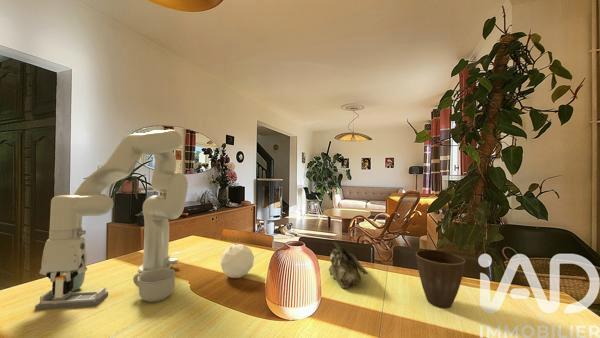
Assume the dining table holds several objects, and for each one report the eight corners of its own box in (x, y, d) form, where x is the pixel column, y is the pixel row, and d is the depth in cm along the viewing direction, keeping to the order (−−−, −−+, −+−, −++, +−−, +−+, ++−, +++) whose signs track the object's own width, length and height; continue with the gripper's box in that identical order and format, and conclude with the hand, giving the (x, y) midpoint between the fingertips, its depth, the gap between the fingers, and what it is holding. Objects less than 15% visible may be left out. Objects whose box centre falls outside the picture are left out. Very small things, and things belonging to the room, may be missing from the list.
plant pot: (446, 319, 77) (447, 266, 77) (405, 297, 90) (406, 252, 91) (474, 308, 84) (474, 260, 84) (432, 289, 97) (433, 248, 98)
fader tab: (72, 294, 82) (73, 272, 82) (63, 300, 78) (65, 277, 78) (61, 295, 82) (62, 273, 82) (52, 301, 78) (53, 278, 78)
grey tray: (108, 295, 86) (108, 285, 86) (96, 305, 79) (96, 295, 79) (52, 298, 82) (53, 288, 82) (34, 309, 75) (35, 299, 76)
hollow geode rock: (338, 274, 122) (317, 250, 123) (357, 256, 122) (336, 232, 123) (346, 302, 93) (319, 271, 94) (372, 278, 93) (344, 247, 94)
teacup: (181, 293, 88) (182, 270, 88) (154, 309, 78) (155, 283, 78) (151, 286, 93) (152, 264, 93) (122, 300, 82) (123, 275, 83)
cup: (65, 297, 83) (67, 266, 84) (47, 294, 85) (49, 264, 85) (89, 287, 91) (91, 259, 91) (72, 284, 92) (73, 257, 93)
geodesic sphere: (235, 274, 92) (249, 238, 100) (206, 267, 97) (221, 234, 105) (252, 285, 103) (263, 252, 111) (224, 279, 108) (237, 248, 116)
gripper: (100, 231, 86) (98, 286, 85) (45, 231, 82) (42, 288, 82) (87, 236, 78) (84, 296, 78) (25, 237, 75) (21, 300, 74)
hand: (62, 292), depth 80 cm, fingers closed on fader tab, 2 cm apart
